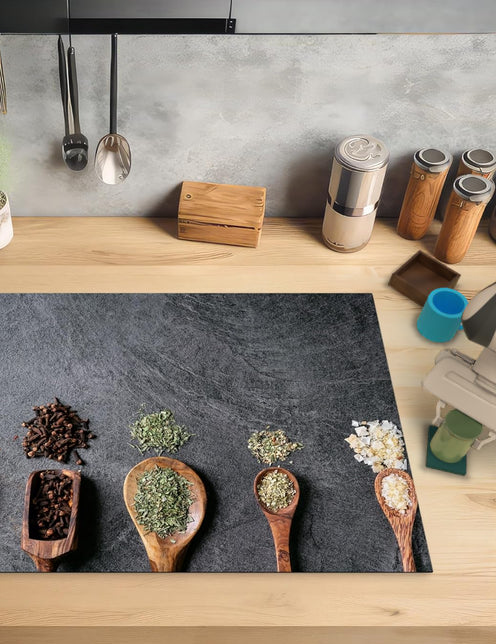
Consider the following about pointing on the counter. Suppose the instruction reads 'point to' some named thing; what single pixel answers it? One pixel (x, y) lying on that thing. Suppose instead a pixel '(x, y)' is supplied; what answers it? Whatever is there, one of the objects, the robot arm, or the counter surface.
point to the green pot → (455, 436)
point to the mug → (442, 315)
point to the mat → (441, 465)
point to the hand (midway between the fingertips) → (455, 437)
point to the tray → (422, 277)
